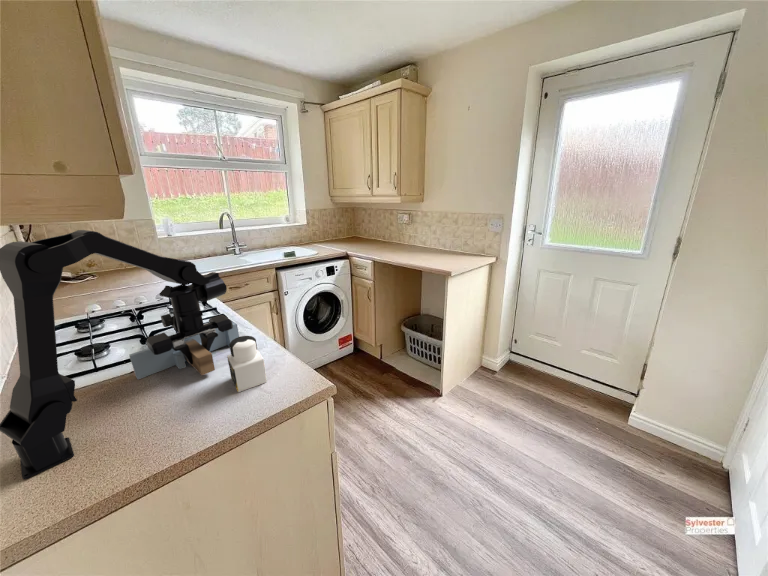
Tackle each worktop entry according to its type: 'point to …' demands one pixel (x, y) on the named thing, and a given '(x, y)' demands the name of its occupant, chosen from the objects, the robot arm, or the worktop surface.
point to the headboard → (175, 354)
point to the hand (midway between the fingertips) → (198, 360)
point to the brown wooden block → (200, 357)
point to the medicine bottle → (246, 363)
